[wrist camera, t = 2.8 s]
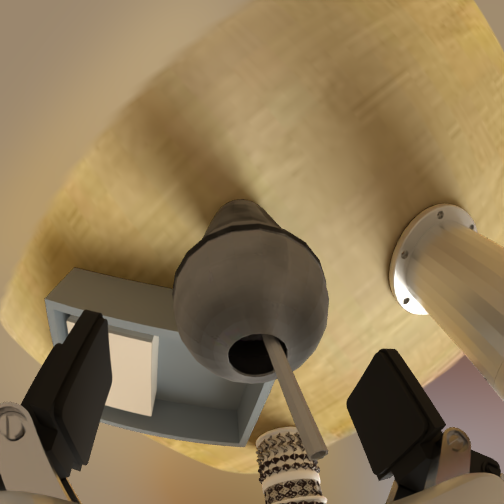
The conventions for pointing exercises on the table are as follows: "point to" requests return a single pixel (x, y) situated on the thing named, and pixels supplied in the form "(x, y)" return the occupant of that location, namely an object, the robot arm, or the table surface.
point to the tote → (161, 363)
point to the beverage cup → (254, 306)
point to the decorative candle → (287, 469)
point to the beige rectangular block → (131, 369)
